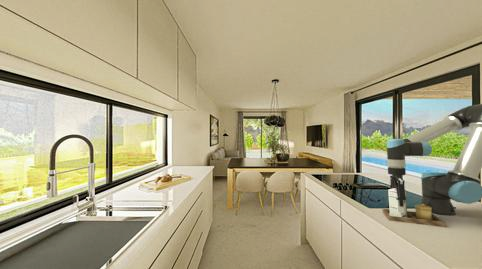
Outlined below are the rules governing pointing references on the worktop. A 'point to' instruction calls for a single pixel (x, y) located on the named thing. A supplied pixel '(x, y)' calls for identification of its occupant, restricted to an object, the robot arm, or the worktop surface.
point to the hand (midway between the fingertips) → (398, 209)
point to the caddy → (414, 219)
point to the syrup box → (394, 204)
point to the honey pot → (423, 212)
